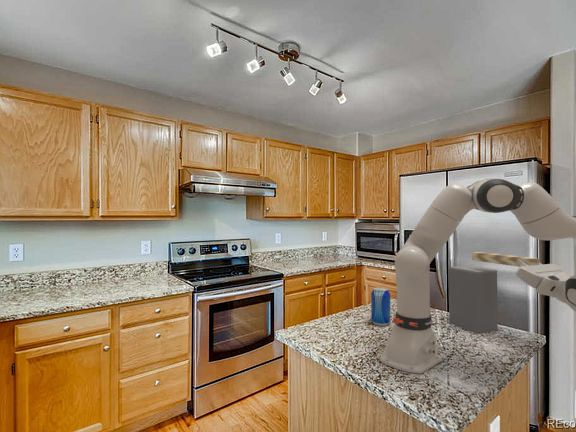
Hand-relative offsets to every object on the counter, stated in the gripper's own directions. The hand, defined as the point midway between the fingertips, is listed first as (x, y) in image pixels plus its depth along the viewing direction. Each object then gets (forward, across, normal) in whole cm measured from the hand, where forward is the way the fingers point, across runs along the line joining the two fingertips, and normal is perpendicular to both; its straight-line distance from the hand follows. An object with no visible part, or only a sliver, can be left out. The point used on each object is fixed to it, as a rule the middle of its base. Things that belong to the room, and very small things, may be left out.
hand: (523, 260), depth 117 cm
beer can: (+18, +36, +48) cm, 62 cm away
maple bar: (+6, 0, +6) cm, 8 cm away
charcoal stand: (+2, 0, +39) cm, 39 cm away
